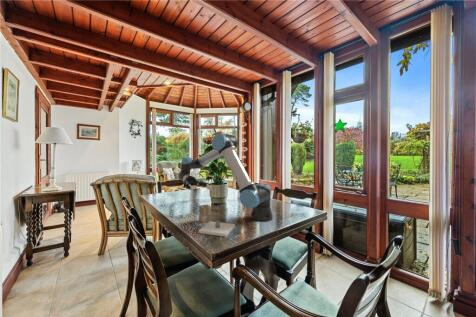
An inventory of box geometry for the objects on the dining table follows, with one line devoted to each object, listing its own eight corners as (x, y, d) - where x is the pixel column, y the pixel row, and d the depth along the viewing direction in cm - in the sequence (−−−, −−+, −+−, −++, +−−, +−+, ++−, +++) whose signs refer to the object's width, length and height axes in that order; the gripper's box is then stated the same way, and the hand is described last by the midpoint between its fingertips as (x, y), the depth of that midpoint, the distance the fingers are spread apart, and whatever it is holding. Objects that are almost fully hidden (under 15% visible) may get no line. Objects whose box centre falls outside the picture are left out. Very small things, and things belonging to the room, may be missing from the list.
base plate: (235, 226, 128) (235, 218, 128) (226, 236, 113) (226, 227, 113) (210, 223, 133) (210, 215, 133) (198, 232, 117) (198, 223, 117)
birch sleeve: (207, 219, 141) (207, 204, 141) (211, 221, 136) (211, 206, 136) (198, 220, 138) (199, 205, 138) (202, 223, 133) (203, 207, 133)
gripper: (203, 185, 167) (217, 193, 151) (172, 185, 153) (183, 195, 136) (205, 175, 167) (219, 183, 150) (174, 175, 152) (185, 183, 135)
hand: (202, 189), depth 143 cm, fingers open, 13 cm apart
